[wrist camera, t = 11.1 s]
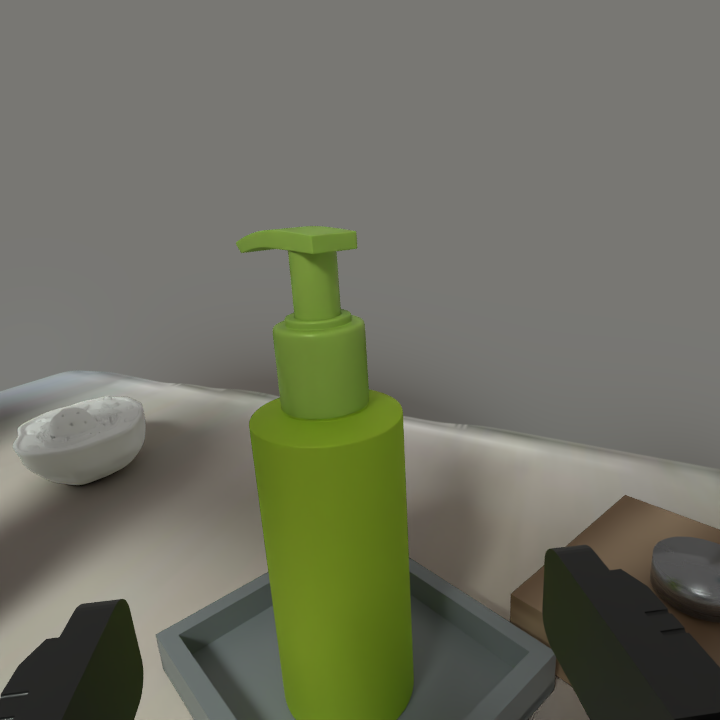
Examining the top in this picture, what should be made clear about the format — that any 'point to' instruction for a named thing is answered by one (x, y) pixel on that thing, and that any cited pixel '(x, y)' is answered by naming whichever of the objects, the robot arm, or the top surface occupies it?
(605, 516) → the crank base
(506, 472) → the top surface
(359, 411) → the soap dispenser
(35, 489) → the top surface
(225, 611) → the tray
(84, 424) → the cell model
